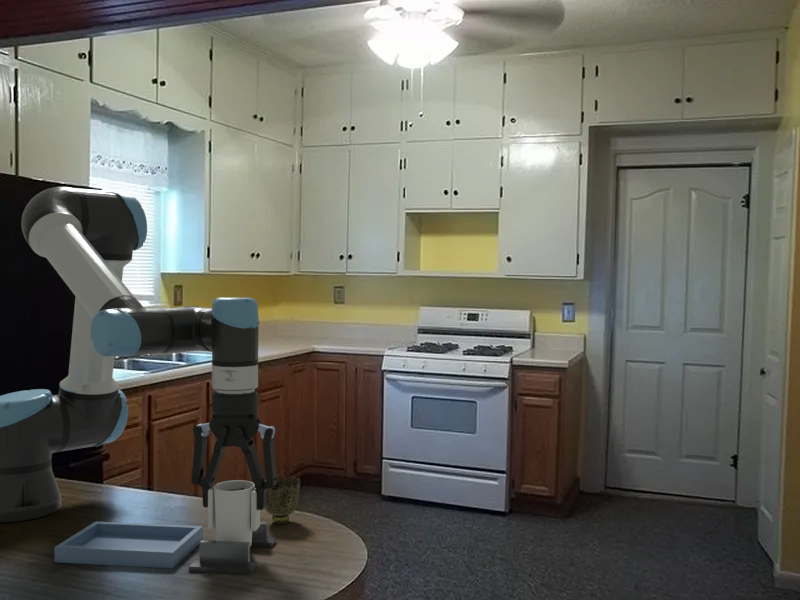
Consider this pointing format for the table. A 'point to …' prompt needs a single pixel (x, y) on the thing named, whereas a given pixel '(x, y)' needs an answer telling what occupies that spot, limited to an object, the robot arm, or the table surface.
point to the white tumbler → (233, 511)
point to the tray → (130, 544)
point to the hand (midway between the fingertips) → (234, 527)
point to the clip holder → (230, 554)
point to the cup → (282, 499)
